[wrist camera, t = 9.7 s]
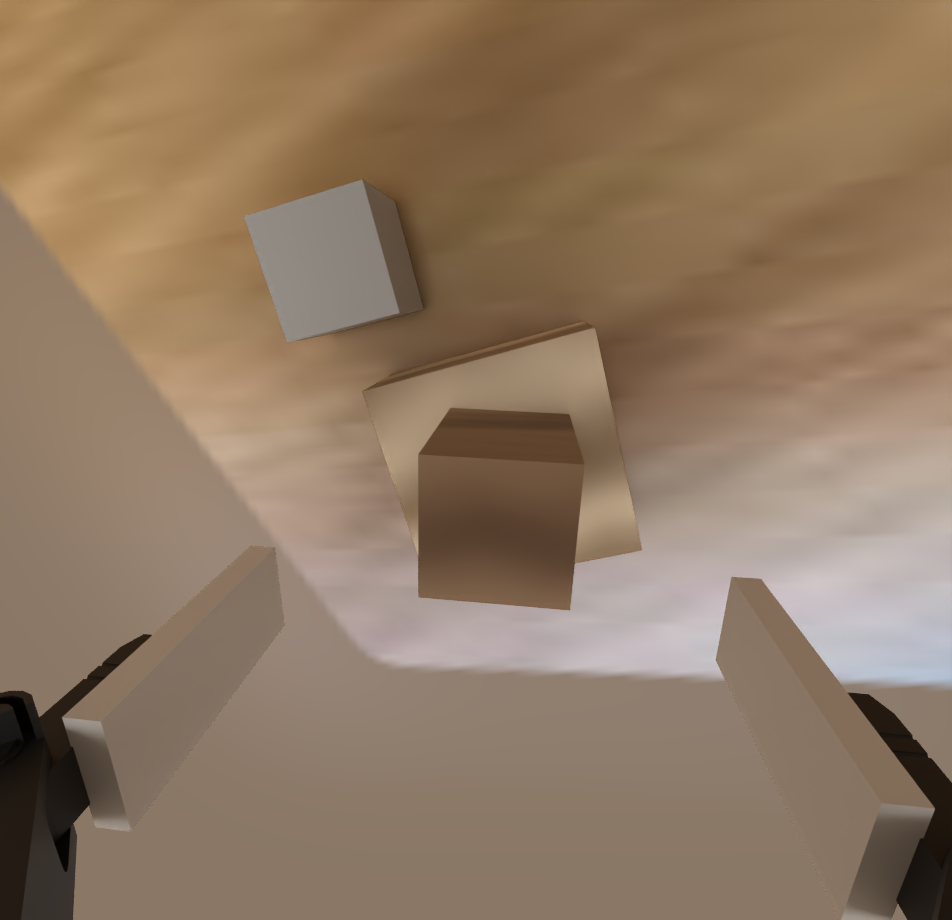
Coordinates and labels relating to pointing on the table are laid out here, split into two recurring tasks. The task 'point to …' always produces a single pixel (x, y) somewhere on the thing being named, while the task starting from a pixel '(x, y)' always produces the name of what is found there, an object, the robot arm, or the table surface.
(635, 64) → the table surface
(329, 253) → the slate cube
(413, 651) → the table surface
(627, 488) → the birch block
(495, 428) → the walnut block
